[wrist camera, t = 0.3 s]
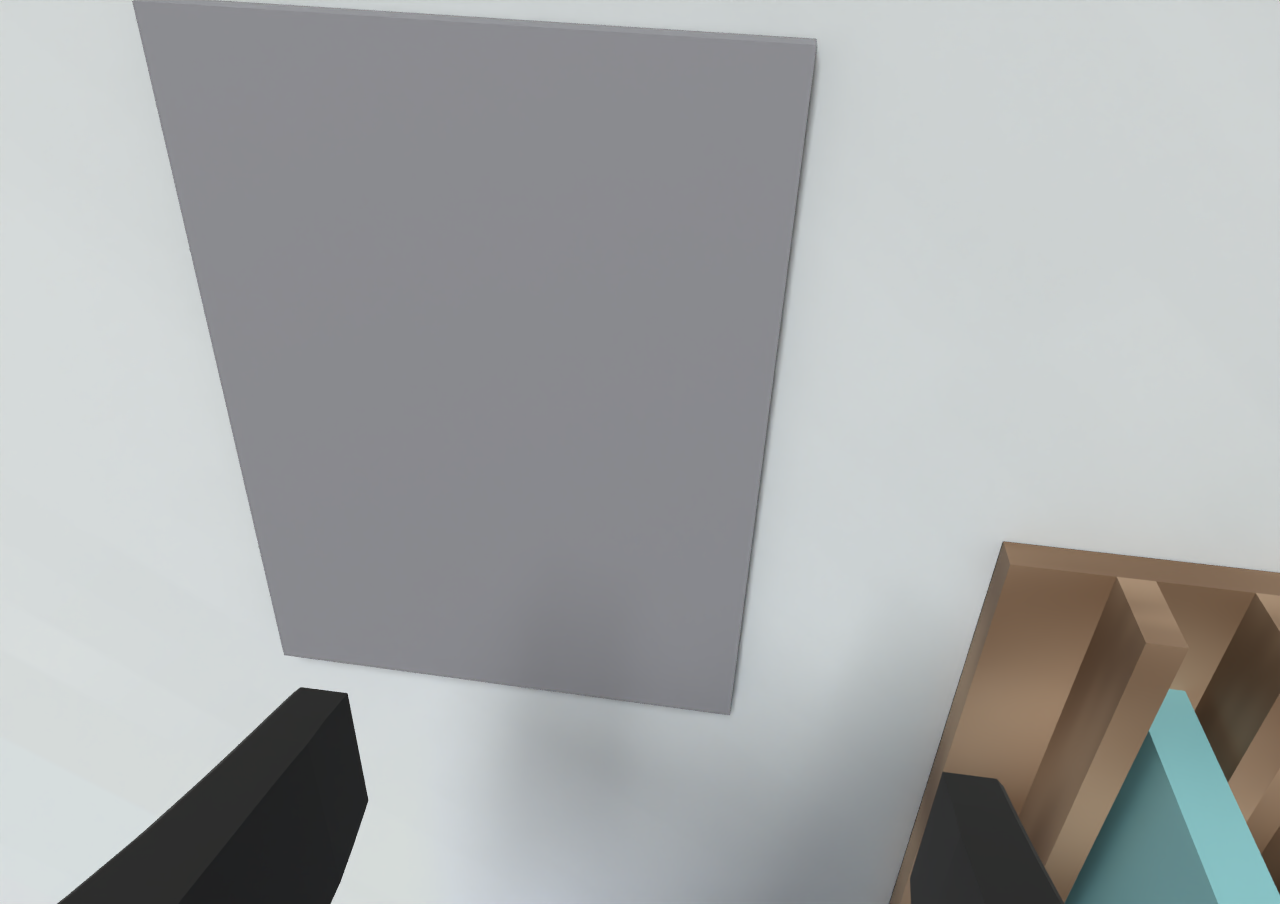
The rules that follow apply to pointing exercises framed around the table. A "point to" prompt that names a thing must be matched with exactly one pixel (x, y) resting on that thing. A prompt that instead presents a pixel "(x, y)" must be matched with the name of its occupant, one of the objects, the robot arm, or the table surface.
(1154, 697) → the rack
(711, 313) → the mat
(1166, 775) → the sheet
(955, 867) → the robot arm
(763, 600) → the table surface
